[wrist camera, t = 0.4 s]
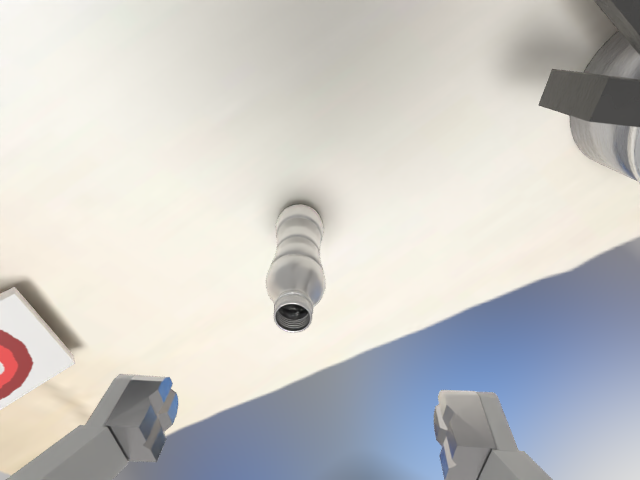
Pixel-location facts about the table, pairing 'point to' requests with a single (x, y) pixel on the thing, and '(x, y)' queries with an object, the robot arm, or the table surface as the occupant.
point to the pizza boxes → (26, 349)
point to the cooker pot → (621, 61)
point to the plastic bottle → (296, 268)
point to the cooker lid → (598, 103)
